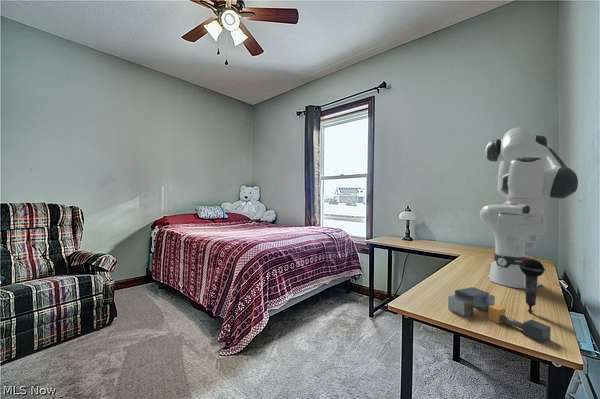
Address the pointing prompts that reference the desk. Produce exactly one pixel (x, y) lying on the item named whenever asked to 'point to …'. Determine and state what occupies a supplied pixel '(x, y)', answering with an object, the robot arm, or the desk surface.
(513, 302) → the desk surface
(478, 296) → the block
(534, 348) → the desk surface
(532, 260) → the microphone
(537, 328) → the plug
